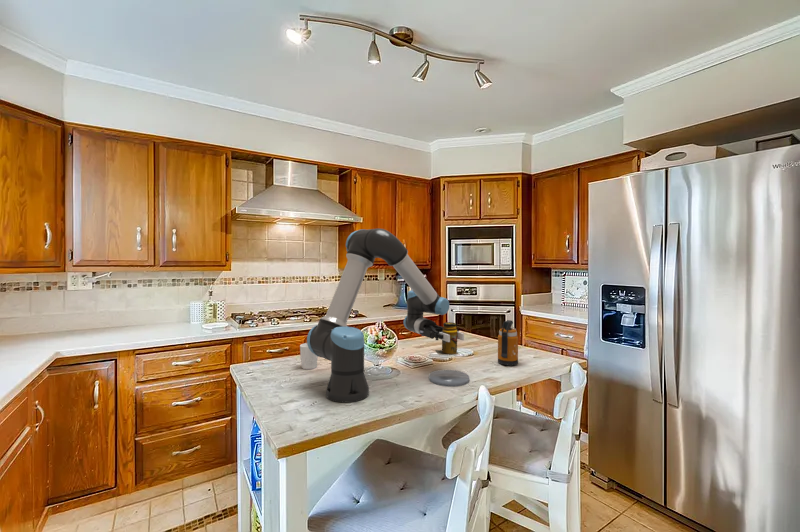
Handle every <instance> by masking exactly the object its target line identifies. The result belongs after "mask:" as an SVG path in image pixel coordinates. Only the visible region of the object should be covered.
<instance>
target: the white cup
mask: <svg viewBox="0 0 800 532" xmlns="http://www.w3.org/2000/svg"><path fill="white" fill-rule="evenodd" d="M299 352H300V353H299V354H300V363H301V365H300V367H301V369H302V368H303V369H302V370H314V369H316V368H318V358H319V357H318V356H316V355H315V354H314V353H312V352H311V351H310V349H309V348H308V345H307V342H305V343H301V344H300V345H299Z"/></svg>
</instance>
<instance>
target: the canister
mask: <svg viewBox="0 0 800 532" xmlns="http://www.w3.org/2000/svg"><path fill="white" fill-rule="evenodd" d="M513 324H514V321H513V320H509V319H507V320H506V321H505V320H504V321H503V323H502V326H501V328H500V329H499V331H498V333H499V334H498V335H497V363H499V364H501V365H503V366H509V367H510V366H511V367H512V366H515V365H518V364H519V335H518V332H517V329H516V328H515V327H513Z"/></svg>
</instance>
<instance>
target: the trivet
mask: <svg viewBox="0 0 800 532" xmlns="http://www.w3.org/2000/svg"><path fill="white" fill-rule="evenodd" d="M428 380H429V382H430V383H432V384H434V385H437V386H442V387H460V386H464V385H467V384H469V383H470V376H469V374H468V373H467V372H463V371H461V370H456V369H455V370H454V369H439V370H434V371H431V372H430V373H429V374H428Z"/></svg>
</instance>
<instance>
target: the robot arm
mask: <svg viewBox="0 0 800 532" xmlns="http://www.w3.org/2000/svg"><path fill="white" fill-rule="evenodd" d="M345 248H346V253H345V254H346V256H345V257H346V259H347V262H346V265H345V266H344V269H343V270H342V271H343V272H342V274H341V277H340V279H339V282H338V284H337V287H336V289H335V292H334V294H333V297H332V299H331V302H330V304H329V306H328V310H327V311H326V314H325V315H324V316H322V317H320V318H319V321H318V323H317V324H316V325H315V326H312V328H310V330H309V332H308V333H307V337H306V343H307V345H308V348H309V349H310V351H311V352H312V353H314V354H315V355H316V356H318V358H322V359H326V360H328V361H330V368H331V369H330V371H331V372H330V377H329V380H328V384H327V386H326V389H325V390H326V391H325V397H326V398H327V399H328V400H329V401H332V402H337V403H354V402H359V401H362V400H364V399H366V398H367V397H369V394H370V386H369V383H368V380H367V378H366V375H365V334H364V332H363V331H362V330H361V329H359V328H357V327H355V326H354V327H353V326H348V325H347V324H348V320H349V317H350V316H351V312H352V310H353V307H354V304H355V303H356V299H357V297H358V294H359V291H360V290H361V289H360V288H361V286H362V283H363V282H364V278H365V276H366V272H367V271H368V268H371V267H372V266H374V262H375V260H376V259H381V260H384V262H385V263H387V265H388V266H389V267H393V269H395V271H396V272H397V273H398V274H399V275H400V277H401V278H402V279H403V280H404V282H405V283H406V284H407V285H408V287H409V288H410V289H411V290H409V291H407V299H406V301H407V302H406V306H407V310H406V311H407V314H406V316H405V317H404V319H403V321H402V322H403V326H404V328H405V329H406V330H408V331H410V332H413V333H416V334H419V335H421V337H426V338H429V339H435V341H439V340H441V341H442V340H444V341H446V342H450V335H448V334H445V333H442V330H443V326H442V325H441V326H440V325H439V324H438V325H437V323H436V321H434V320H431V319H428V318H426V317H425V318H424V313H427V314H433V315H437V316H438V315H441V316H444V315H446V314H447V313H448V311H449V310H450V301H449V300H448V298H446V297H443V296H440V295H439V294H438V293H437V291H436V290H435V289H434V287H433V286H432V284H431V283H430V282H429V281H428V279H427V278H426V276H425V275H424V274H423V273H422V272H421V270H420V269H419V268H418V267H417V265H416V263H415V262H414V261H413V259H412V258H411V257H410V255H409V254H408V253H409V251H408V249H407V248H406V246H405V245H404V244H403V243H402V241H401V240H400V239H399V238H398V237H397V236H395V235H394V234H393V233H391V232H390V231H389V230H387V229H385V228H380V227H379V228H371V229H366V228H365V229H358V230H355V231H353V232H351V233H350V234H349V235H348V236H347V238H346V241H345ZM456 330H457V340H459V341H465V333H464V332H460V330H459V329H457V328H456Z"/></svg>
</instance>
